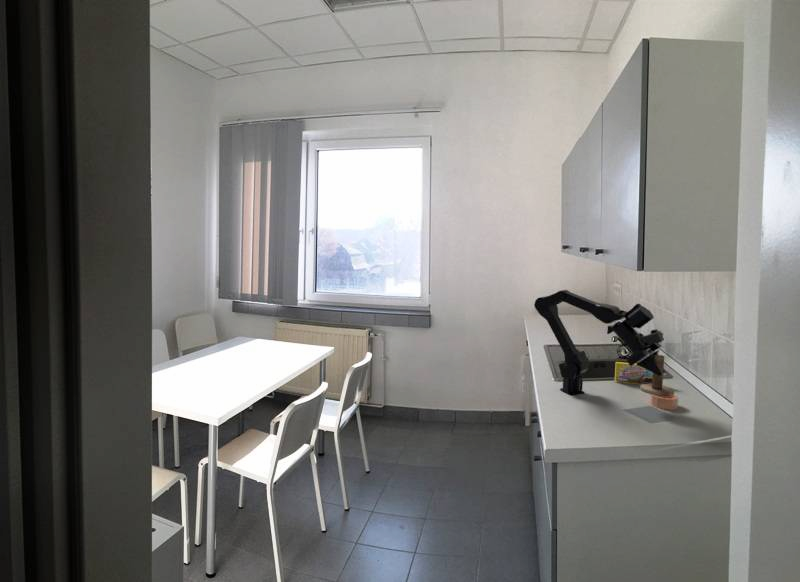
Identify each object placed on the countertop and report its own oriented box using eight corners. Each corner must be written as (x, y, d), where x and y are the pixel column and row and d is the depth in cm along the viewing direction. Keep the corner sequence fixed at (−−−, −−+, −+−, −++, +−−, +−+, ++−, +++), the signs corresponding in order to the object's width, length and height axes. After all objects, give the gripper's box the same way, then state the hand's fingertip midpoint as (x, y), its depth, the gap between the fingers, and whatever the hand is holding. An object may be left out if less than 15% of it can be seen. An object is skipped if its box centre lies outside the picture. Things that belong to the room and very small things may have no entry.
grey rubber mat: (651, 424, 145) (651, 423, 145) (622, 411, 156) (622, 409, 156) (680, 419, 148) (680, 418, 148) (649, 407, 160) (650, 405, 160)
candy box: (614, 382, 187) (615, 362, 186) (614, 381, 189) (615, 361, 188) (659, 386, 182) (661, 366, 181) (658, 385, 184) (660, 364, 183)
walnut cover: (656, 397, 148) (659, 361, 147) (633, 387, 158) (635, 353, 157) (681, 394, 151) (684, 358, 150) (656, 384, 161) (659, 351, 159)
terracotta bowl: (664, 411, 155) (665, 400, 155) (645, 403, 163) (645, 392, 162) (682, 409, 158) (683, 397, 157) (662, 401, 165) (663, 390, 165)
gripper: (639, 326, 148) (675, 366, 142) (656, 318, 161) (690, 355, 155) (612, 346, 154) (646, 385, 148) (631, 337, 168) (662, 373, 161)
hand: (662, 374), depth 153 cm, fingers closed on walnut cover, 3 cm apart
